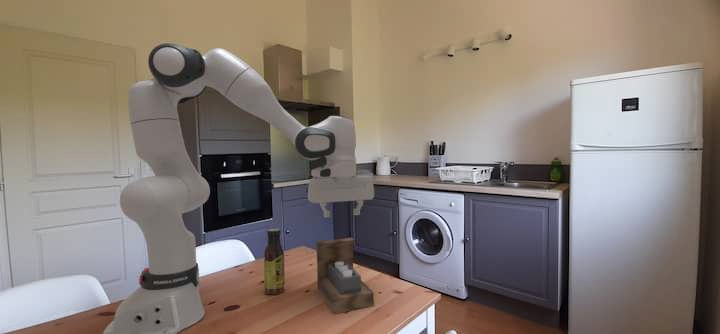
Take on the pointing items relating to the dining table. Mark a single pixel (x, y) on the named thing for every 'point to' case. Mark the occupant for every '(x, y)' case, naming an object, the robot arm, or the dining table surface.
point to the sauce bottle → (274, 264)
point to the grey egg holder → (344, 277)
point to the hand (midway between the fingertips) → (342, 216)
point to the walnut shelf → (336, 302)
